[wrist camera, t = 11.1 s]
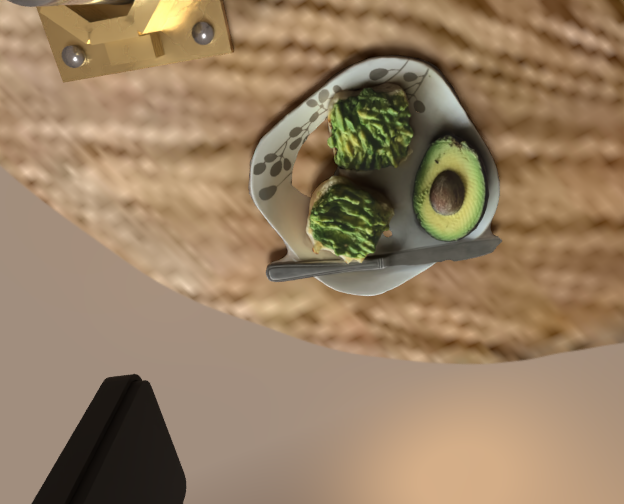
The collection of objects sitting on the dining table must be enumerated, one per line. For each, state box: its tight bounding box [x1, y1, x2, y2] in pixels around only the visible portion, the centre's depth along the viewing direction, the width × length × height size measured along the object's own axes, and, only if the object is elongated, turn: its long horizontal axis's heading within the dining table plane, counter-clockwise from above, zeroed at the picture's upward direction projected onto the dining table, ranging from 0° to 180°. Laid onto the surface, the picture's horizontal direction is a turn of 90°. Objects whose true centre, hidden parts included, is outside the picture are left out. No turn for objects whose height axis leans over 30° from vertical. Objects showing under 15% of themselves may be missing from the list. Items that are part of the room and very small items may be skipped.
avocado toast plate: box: [249, 55, 502, 296], centre depth 38 cm, size 19×18×5 cm
